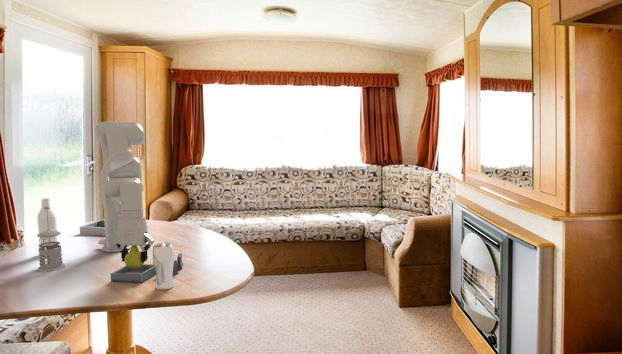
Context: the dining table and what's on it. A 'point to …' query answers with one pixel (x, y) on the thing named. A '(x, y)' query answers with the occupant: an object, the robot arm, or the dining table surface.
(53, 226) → the water bottle
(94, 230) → the tray
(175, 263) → the clip
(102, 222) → the pipe connector
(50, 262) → the french press
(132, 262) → the fruit
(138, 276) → the grey square tray
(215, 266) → the dining table surface
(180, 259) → the clip
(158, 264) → the beer glass
